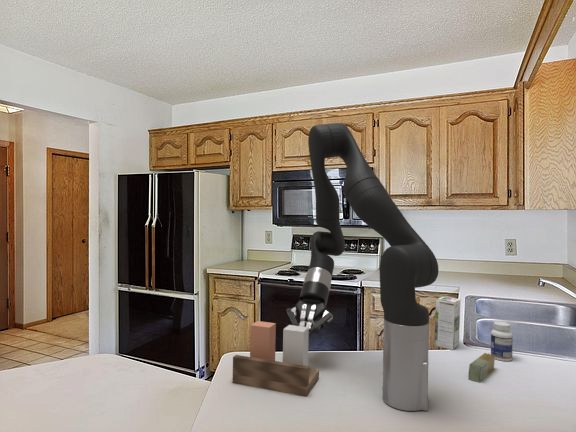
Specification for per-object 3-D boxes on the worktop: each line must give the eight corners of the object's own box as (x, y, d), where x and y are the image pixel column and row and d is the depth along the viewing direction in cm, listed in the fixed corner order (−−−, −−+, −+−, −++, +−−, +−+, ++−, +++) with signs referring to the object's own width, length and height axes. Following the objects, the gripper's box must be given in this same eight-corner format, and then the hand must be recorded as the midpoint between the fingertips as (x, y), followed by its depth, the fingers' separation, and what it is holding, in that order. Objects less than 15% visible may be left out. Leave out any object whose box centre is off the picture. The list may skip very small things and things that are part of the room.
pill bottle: (492, 353, 113) (492, 319, 113) (513, 357, 110) (514, 323, 110) (489, 358, 109) (489, 323, 109) (511, 363, 105) (511, 327, 105)
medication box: (479, 384, 92) (480, 367, 92) (467, 380, 94) (468, 363, 94) (494, 370, 101) (495, 354, 101) (483, 366, 103) (483, 351, 103)
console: (318, 378, 93) (319, 353, 93) (306, 396, 84) (306, 368, 84) (251, 367, 100) (251, 343, 100) (232, 382, 90) (232, 356, 90)
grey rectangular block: (307, 368, 93) (308, 327, 93) (302, 375, 90) (303, 331, 89) (288, 365, 95) (289, 324, 95) (282, 371, 91) (283, 329, 91)
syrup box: (440, 341, 123) (441, 295, 123) (459, 345, 119) (460, 298, 119) (433, 346, 118) (434, 298, 118) (454, 350, 115) (455, 301, 115)
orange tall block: (275, 363, 96) (275, 323, 96) (268, 369, 92) (269, 327, 92) (256, 360, 98) (257, 321, 98) (249, 366, 94) (250, 325, 94)
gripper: (290, 278, 108) (273, 334, 96) (337, 281, 103) (324, 341, 92) (296, 293, 113) (280, 349, 101) (341, 297, 108) (330, 356, 97)
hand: (301, 345), depth 96 cm, fingers closed
